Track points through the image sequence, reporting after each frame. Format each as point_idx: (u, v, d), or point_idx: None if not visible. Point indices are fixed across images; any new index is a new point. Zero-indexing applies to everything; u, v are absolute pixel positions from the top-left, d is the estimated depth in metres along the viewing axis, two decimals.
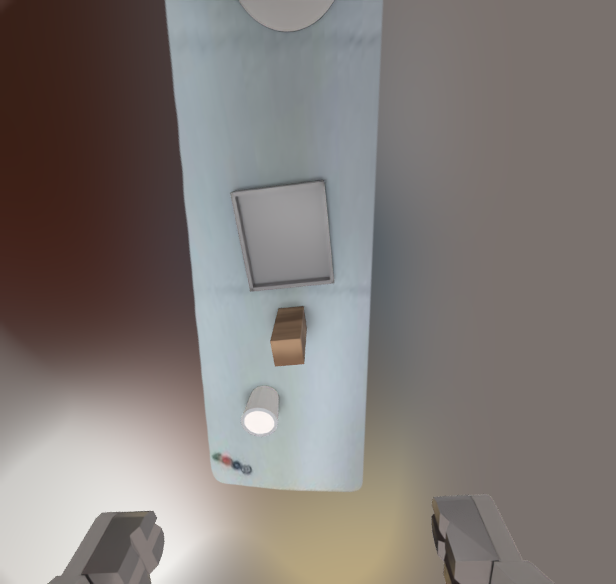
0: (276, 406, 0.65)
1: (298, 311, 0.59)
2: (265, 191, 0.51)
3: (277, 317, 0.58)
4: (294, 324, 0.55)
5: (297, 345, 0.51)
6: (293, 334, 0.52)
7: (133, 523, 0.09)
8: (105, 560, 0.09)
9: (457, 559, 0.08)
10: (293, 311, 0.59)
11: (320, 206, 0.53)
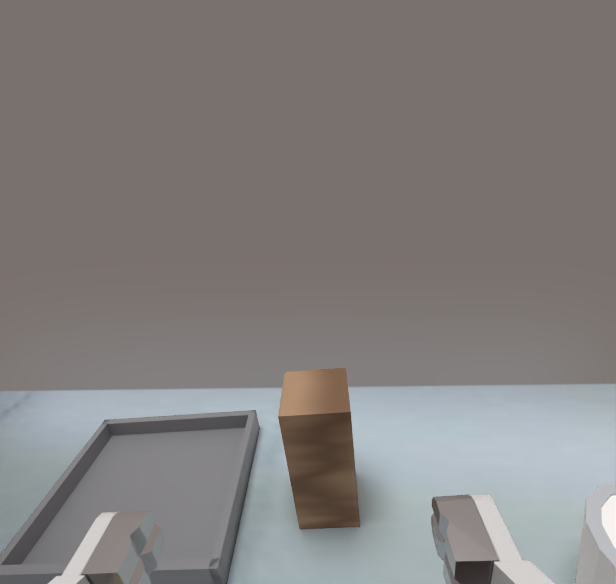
0: None
1: None
2: (47, 500, 0.28)
3: None
4: None
5: (300, 375, 0.25)
6: None
7: (133, 523, 0.09)
8: (105, 560, 0.09)
9: (457, 559, 0.08)
10: None
11: (139, 436, 0.35)
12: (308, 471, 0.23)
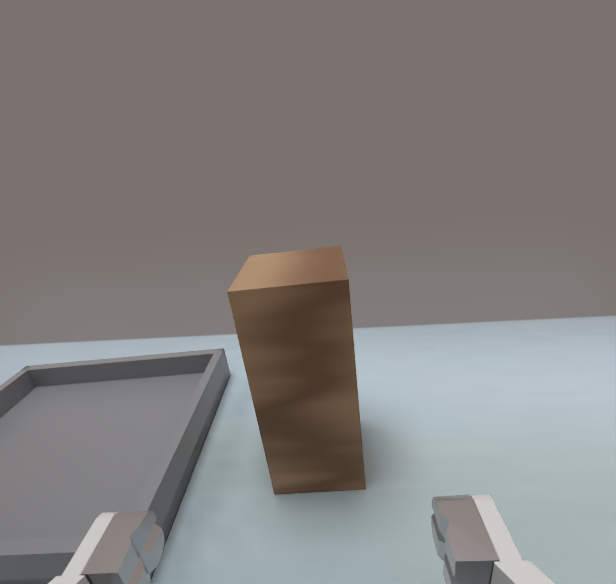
0: None
1: None
2: None
3: None
4: None
5: (272, 256, 0.16)
6: None
7: (133, 523, 0.09)
8: (105, 560, 0.09)
9: (457, 559, 0.08)
10: None
11: (70, 386, 0.27)
12: (283, 395, 0.15)
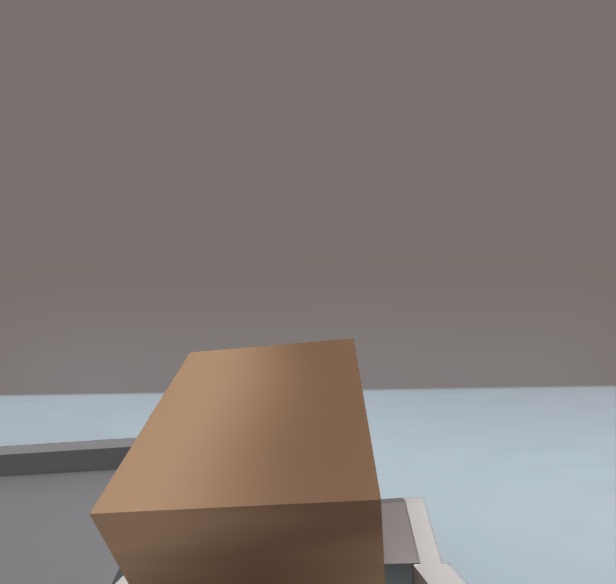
0: None
1: None
2: None
3: None
4: None
5: (227, 359, 0.09)
6: None
7: None
8: None
9: None
10: None
11: None
12: None
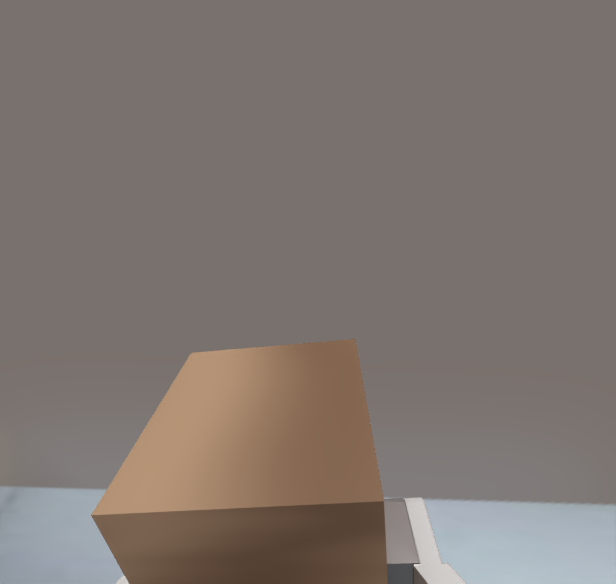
0: None
1: None
2: None
3: None
4: None
5: (229, 360, 0.09)
6: None
7: None
8: None
9: None
10: None
11: None
12: None
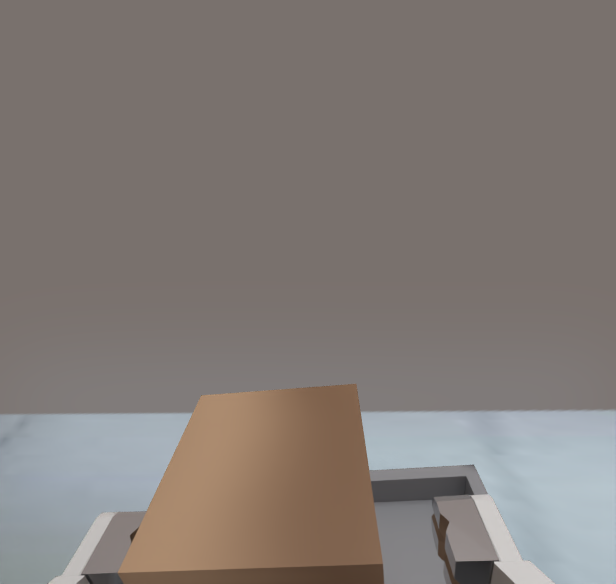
0: None
1: None
2: None
3: None
4: None
5: (237, 404, 0.09)
6: None
7: (133, 523, 0.09)
8: (105, 560, 0.09)
9: (457, 559, 0.08)
10: None
11: None
12: None
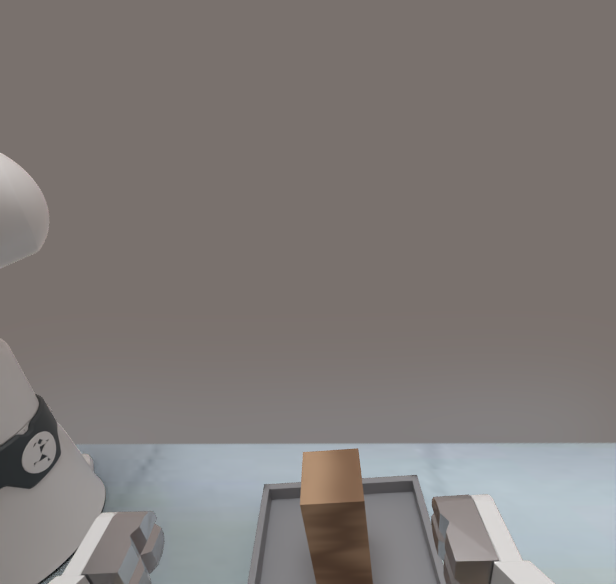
0: None
1: None
2: (252, 579, 0.29)
3: None
4: None
5: (317, 456, 0.28)
6: None
7: (133, 523, 0.09)
8: (105, 560, 0.09)
9: (457, 559, 0.08)
10: None
11: None
12: (327, 549, 0.26)
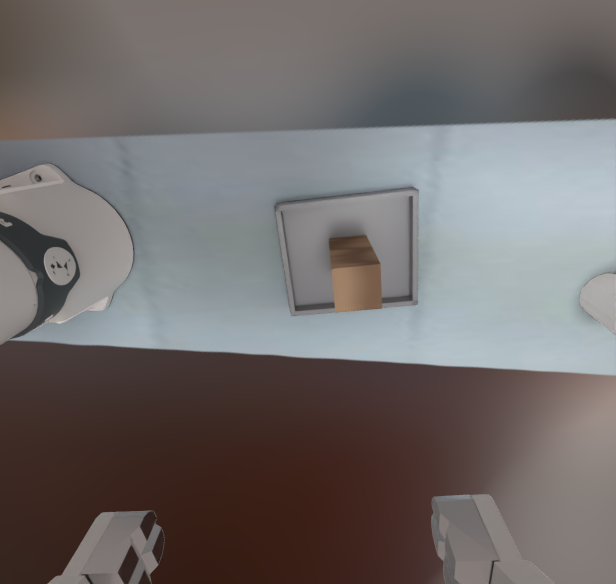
0: None
1: None
2: (288, 277, 0.42)
3: None
4: None
5: (344, 272, 0.32)
6: None
7: (133, 523, 0.09)
8: (105, 560, 0.09)
9: (457, 559, 0.08)
10: None
11: (308, 208, 0.40)
12: None
